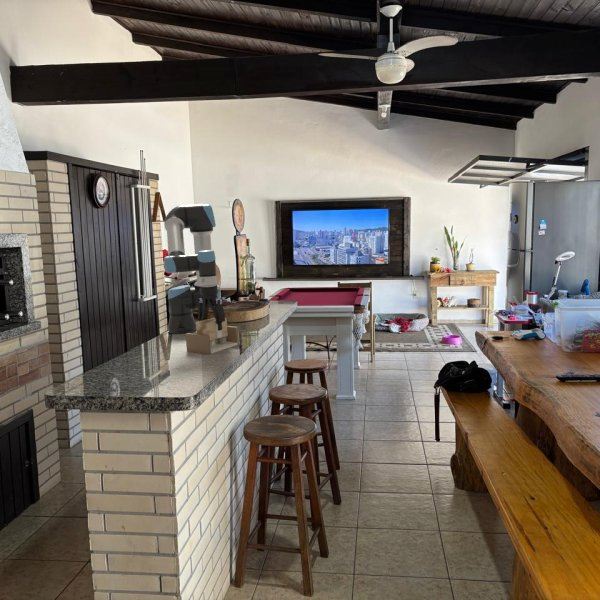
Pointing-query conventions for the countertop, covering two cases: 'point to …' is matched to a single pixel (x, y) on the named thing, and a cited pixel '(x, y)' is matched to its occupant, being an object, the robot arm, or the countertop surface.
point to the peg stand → (205, 346)
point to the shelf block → (211, 328)
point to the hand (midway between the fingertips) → (212, 336)
